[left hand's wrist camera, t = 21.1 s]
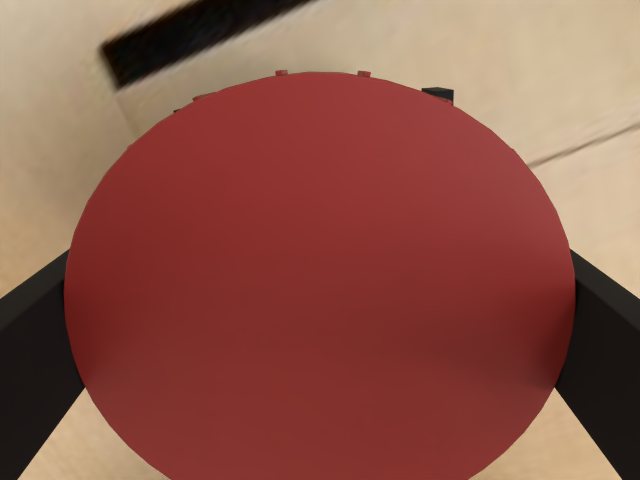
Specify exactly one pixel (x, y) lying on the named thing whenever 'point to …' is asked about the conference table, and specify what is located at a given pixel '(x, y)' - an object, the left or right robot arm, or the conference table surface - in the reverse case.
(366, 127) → the lid
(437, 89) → the right robot arm
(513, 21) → the conference table surface
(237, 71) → the conference table surface
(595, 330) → the left robot arm
